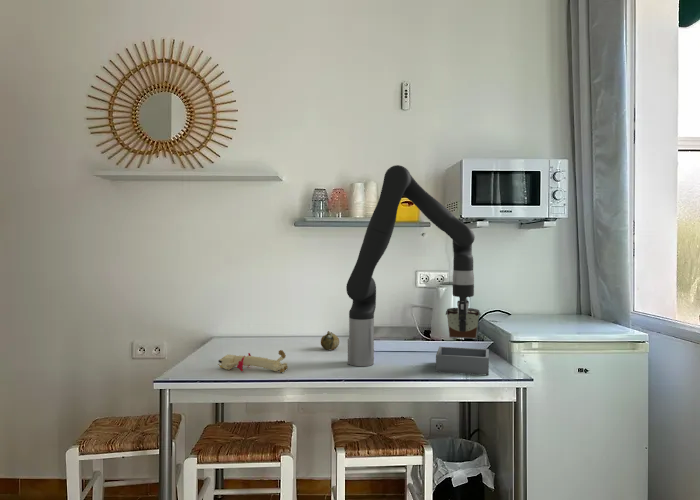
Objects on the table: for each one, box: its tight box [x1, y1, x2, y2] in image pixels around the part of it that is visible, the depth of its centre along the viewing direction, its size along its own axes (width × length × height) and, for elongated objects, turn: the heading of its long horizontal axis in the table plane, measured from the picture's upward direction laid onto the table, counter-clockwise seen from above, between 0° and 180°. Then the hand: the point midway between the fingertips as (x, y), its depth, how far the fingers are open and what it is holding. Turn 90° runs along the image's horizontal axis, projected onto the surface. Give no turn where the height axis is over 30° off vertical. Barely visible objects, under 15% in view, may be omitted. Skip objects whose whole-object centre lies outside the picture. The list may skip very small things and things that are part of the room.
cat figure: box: [217, 349, 289, 373], centre depth 194 cm, size 10×9×25 cm
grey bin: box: [435, 346, 490, 376], centre depth 196 cm, size 18×14×6 cm
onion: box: [320, 330, 340, 351], centre depth 226 cm, size 8×8×8 cm
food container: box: [445, 307, 482, 340], centre depth 195 cm, size 12×6×10 cm, turn 78°
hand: (462, 329), depth 195 cm, fingers closed on food container, 5 cm apart
